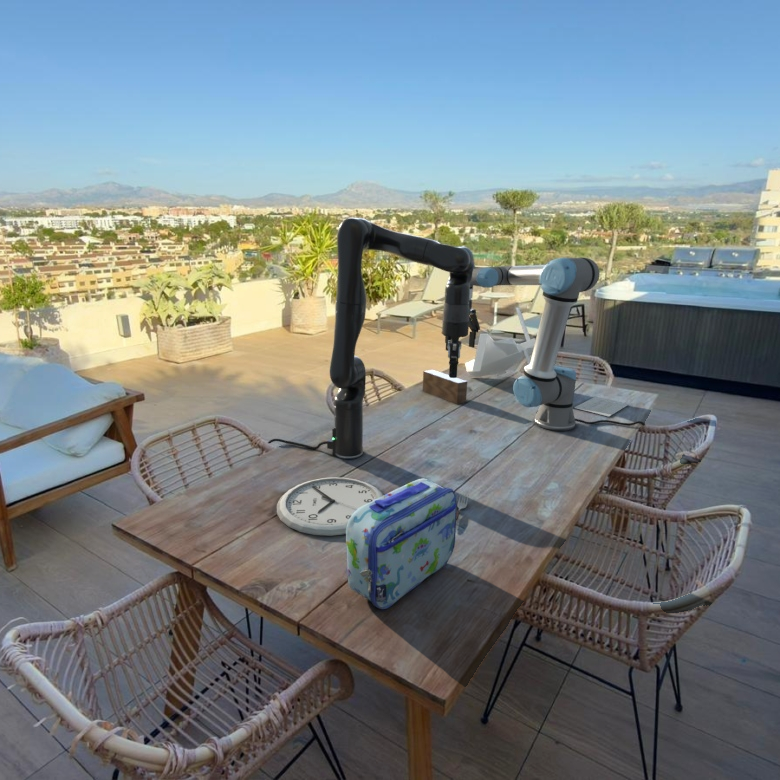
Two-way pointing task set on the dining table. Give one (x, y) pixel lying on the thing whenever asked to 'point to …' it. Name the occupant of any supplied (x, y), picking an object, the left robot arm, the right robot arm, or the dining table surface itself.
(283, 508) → the wall clock
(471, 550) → the dining table surface
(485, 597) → the dining table surface
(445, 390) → the bar
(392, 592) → the lunch box
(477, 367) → the white plastic object
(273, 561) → the dining table surface
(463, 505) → the fork
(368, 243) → the left robot arm
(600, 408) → the grey wooden board
